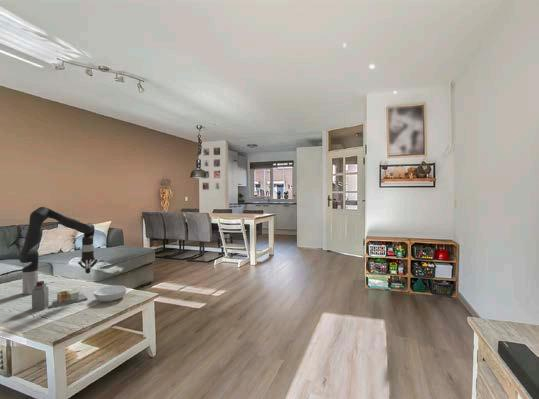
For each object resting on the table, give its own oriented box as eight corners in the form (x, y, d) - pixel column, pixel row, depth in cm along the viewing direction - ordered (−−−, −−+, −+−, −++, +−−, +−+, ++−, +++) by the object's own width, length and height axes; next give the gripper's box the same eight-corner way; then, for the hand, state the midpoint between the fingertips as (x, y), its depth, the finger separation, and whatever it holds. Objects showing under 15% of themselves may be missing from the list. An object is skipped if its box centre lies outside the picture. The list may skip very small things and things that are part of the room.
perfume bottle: (36, 307, 188) (36, 280, 187) (48, 305, 190) (48, 279, 190) (32, 311, 182) (31, 283, 181) (44, 309, 184) (44, 282, 183)
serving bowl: (112, 306, 191) (112, 296, 190) (86, 303, 195) (86, 293, 195) (132, 295, 211) (132, 286, 211) (109, 293, 215) (109, 284, 215)
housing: (67, 297, 201) (67, 291, 201) (76, 295, 205) (76, 289, 205) (70, 300, 195) (70, 294, 195) (79, 298, 199) (79, 292, 199)
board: (53, 302, 196) (52, 293, 196) (82, 295, 209) (82, 287, 209) (56, 307, 188) (56, 298, 188) (87, 299, 201) (87, 291, 201)
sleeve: (57, 300, 196) (57, 292, 195) (67, 298, 200) (67, 290, 200) (59, 303, 192) (59, 294, 191) (69, 300, 196) (69, 292, 196)
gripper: (78, 252, 198) (78, 276, 199) (99, 249, 208) (99, 272, 209) (75, 250, 203) (76, 274, 204) (96, 248, 213) (96, 270, 214)
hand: (87, 273), depth 206 cm, fingers closed
